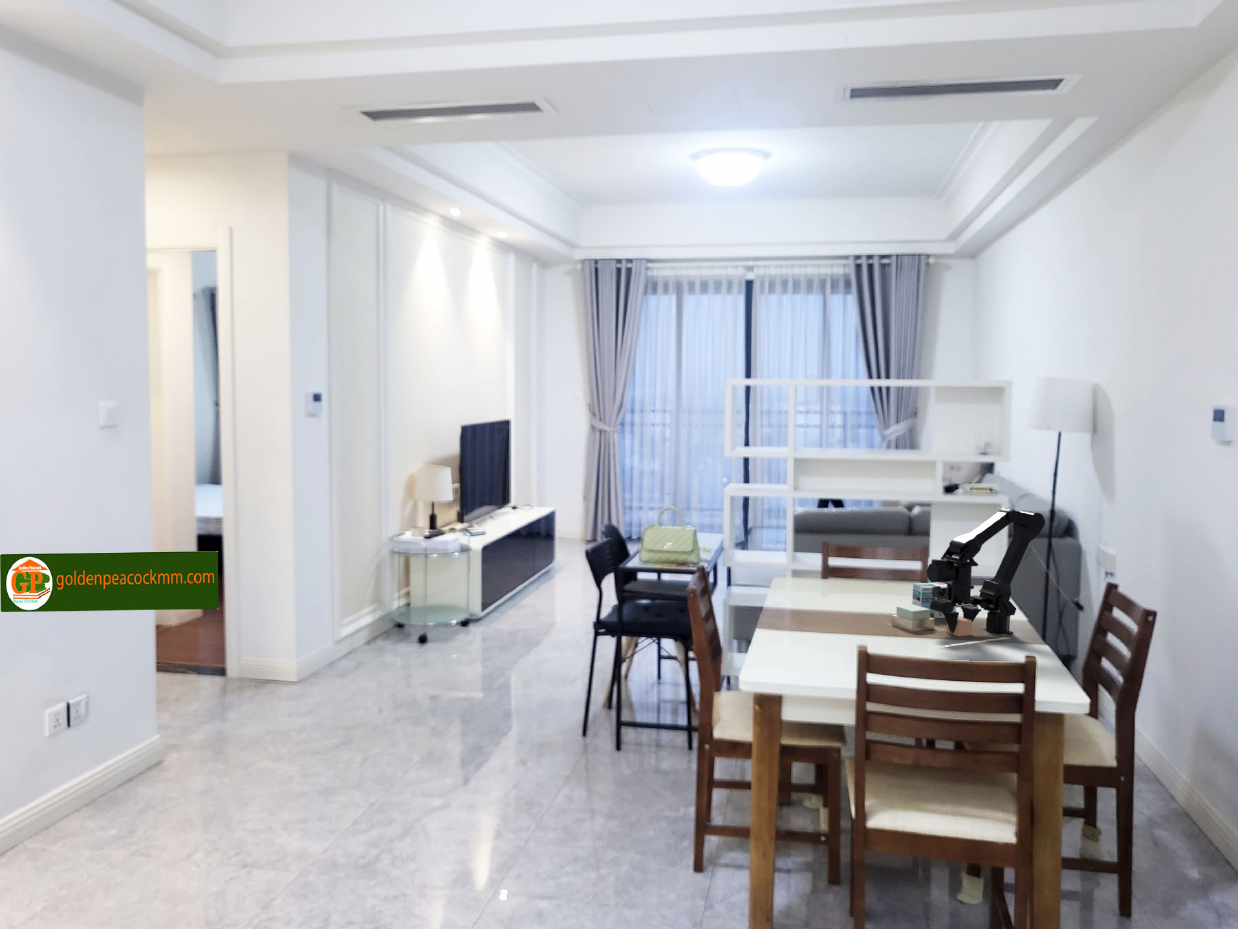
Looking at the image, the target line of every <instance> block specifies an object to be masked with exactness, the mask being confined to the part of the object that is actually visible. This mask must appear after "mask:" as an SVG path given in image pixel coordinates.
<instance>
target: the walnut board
mask: <svg viewBox="0 0 1238 929" xmlns="http://www.w3.org/2000/svg"><path fill="white" fill-rule="evenodd" d="M885 625H886V626H889V627H892V628H895V629H898V630H901V631H904V632H906V633H909V634H913V635H916V636H918V635H922V634H923V635H924V634H932V633H939V632H946V627H947V624H944V623H939V622H936V621H935V622H934V629H926V630H918V631H909V630H906V629H903V628H900V627H897V626H894V625H891V622H888V623H885Z"/></svg>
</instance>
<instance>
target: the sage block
mask: <svg viewBox="0 0 1238 929" xmlns="http://www.w3.org/2000/svg"><path fill="white" fill-rule="evenodd" d="M895 615H897V616H900V617H903V618H906V619H909V620H921V619H929V618H930V609H927V608H924V607H920V606H917V605H912V604H908V605H898V606H897V605H896V613H895Z"/></svg>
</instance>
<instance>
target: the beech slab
mask: <svg viewBox="0 0 1238 929" xmlns="http://www.w3.org/2000/svg"><path fill="white" fill-rule="evenodd" d="M935 619H936V618H929V619H921V620H909V619H906V618H903V617H900V616H897V615H896V614H891V620H890V621H891V622H890V623H891V625H894V626H897V627H900V628H903V629H906V630H909V631H918V630H926V629H934V622H936V621H935Z"/></svg>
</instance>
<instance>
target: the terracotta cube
mask: <svg viewBox="0 0 1238 929" xmlns="http://www.w3.org/2000/svg"><path fill="white" fill-rule="evenodd" d="M972 624H973V622H972V620H969V619H966V618H963V617H962V616H958V619H957V624H956V628H955V631H954V633H950V630H949V627H948V624H947V623H946V625H947V627H946V631H945V632H946V633H947V634H949V635H954V636H957V637H964V636H971V635H972Z"/></svg>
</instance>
